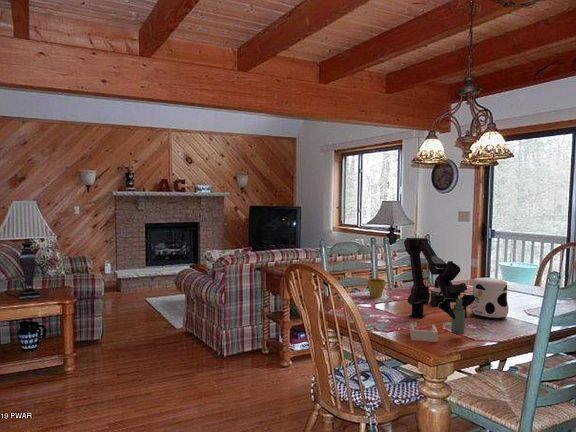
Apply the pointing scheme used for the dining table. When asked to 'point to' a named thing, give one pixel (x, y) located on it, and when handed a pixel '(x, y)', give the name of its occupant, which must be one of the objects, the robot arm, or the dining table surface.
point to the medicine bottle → (435, 291)
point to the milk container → (490, 298)
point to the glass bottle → (458, 318)
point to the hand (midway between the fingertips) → (460, 318)
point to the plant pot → (376, 287)
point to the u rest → (424, 334)
